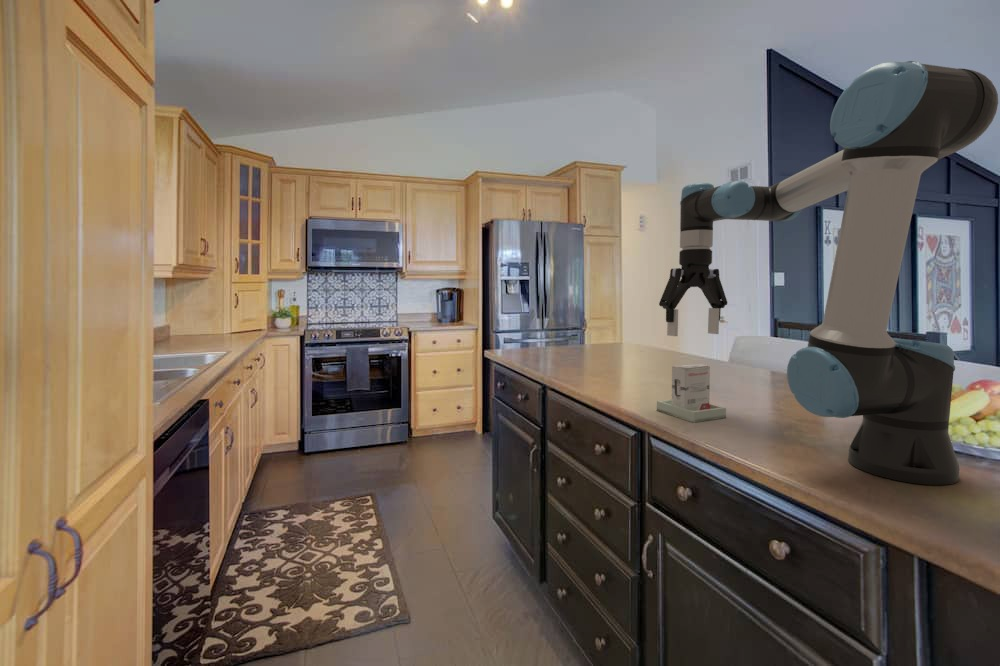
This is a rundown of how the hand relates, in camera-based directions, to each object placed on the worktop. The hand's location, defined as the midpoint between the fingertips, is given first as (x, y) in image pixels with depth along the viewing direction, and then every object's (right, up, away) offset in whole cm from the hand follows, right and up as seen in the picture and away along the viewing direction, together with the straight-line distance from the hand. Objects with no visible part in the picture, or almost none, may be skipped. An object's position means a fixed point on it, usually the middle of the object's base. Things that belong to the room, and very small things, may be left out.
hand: (693, 334), depth 123 cm
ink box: (0, -20, +2) cm, 20 cm away
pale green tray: (0, -20, +2) cm, 20 cm away
